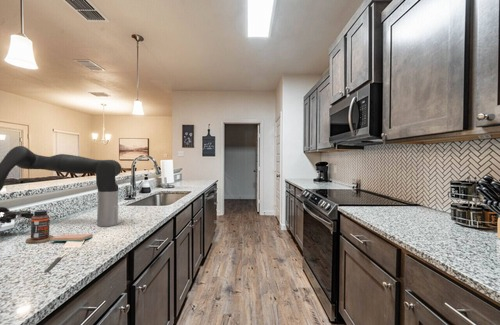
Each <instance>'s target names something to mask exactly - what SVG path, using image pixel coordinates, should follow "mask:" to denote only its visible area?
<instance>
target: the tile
mask: <svg viewBox="0 0 500 325" xmlns="http://www.w3.org/2000/svg"><path fill="white" fill-rule="evenodd" d="M90 238H93V233H79V234H74V233H73V234H71V233H70V234H67V233H65V234H60V235H56V236H54V237H53V238H50V241H49V242H67V241H82V240H84V241H85V240H88V239H90Z"/></svg>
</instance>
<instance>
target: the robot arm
mask: <svg viewBox="0 0 500 325" xmlns="http://www.w3.org/2000/svg"><path fill="white" fill-rule="evenodd" d="M16 166H17V167H18V168H20V169H24V170H45V171H51V172H59V173H66V174H95V180H96V181H95V183H96V186H97V210H96V211H97V212H96V213H97V215H96V216H97V218H96V221H97V222H96V223H97V224H96V225H97V227H111V226H117V225H118V223H119V185H118V184H117V182H116V176H118V175H120V174H121V172H122V165H121V164H120V163H119V162H118V161H117V160H113V159H93V158H89V157H84V156H80V155H73V154H67V153H66V154H64V153H59V154H55V155H51V156H45V155H39V154H36V153H34V152H33V151H31V150H30V149H29V148H28V147H26V146H24V145H23V146H22V145H17V146H15V147H13V148H11V149H10V150H9V151H8V152H7V153H6V154H5V156H4V158H3V159H1V162H0V192H1V191H2V190H3V188H4V186H5V183H6V181H7V178H8V177H9V175H10V172H11V171H12V170H13V169H14V168H15V167H16ZM33 216H34V212H33V213H32V211H31V210H15V211H13V210H9V208H8V207H6V206H0V223H4V224H10V223H11V222H12V221H14V220H15V221H16V220H21V219H30V220H31V218H32V217H33Z"/></svg>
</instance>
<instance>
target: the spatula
mask: <svg viewBox="0 0 500 325" xmlns="http://www.w3.org/2000/svg"><path fill="white" fill-rule="evenodd" d="M84 242H85V240H82V241H65V243H64V245H63V246H62V248H63V249H64V248H77V247H79V248H81V247H82V245H83V244H84ZM67 253H68V251H64V252H63V254H61V255H60V256H58V257H57V258H56V259H55V260H54V261H53V262H52V263H51V264H50V265H49V266H48V267H47V268H46V269H45V270H44V271H43V274H46V273H49V272H51V270H53V269H54V267H55V266H56V265H58V264H59V262H60V261H61V260H62V258H63V257H64V256H66V255H67Z"/></svg>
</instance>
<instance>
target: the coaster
mask: <svg viewBox="0 0 500 325" xmlns="http://www.w3.org/2000/svg"><path fill="white" fill-rule="evenodd" d="M53 237H55V236H54V235H51V234H49V237H48V238H45V239H41V240H32V239H31V237H28V238H26V239H25V244H29V245H30V244H31V245H35V244H37V245H38V244H43V243H47V242H51V241H50V238H53Z"/></svg>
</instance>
